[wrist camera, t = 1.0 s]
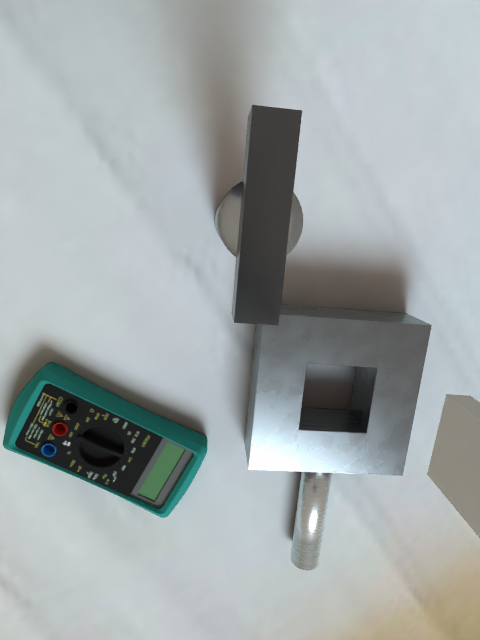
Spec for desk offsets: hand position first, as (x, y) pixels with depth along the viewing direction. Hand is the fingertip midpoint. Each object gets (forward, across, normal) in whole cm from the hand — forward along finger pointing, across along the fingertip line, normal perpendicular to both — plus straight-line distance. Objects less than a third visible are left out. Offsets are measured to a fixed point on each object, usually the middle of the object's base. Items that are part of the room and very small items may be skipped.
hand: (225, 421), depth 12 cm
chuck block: (+21, +9, -12) cm, 25 cm away
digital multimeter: (+21, -7, -13) cm, 26 cm away
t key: (+21, +1, +5) cm, 22 cm away
